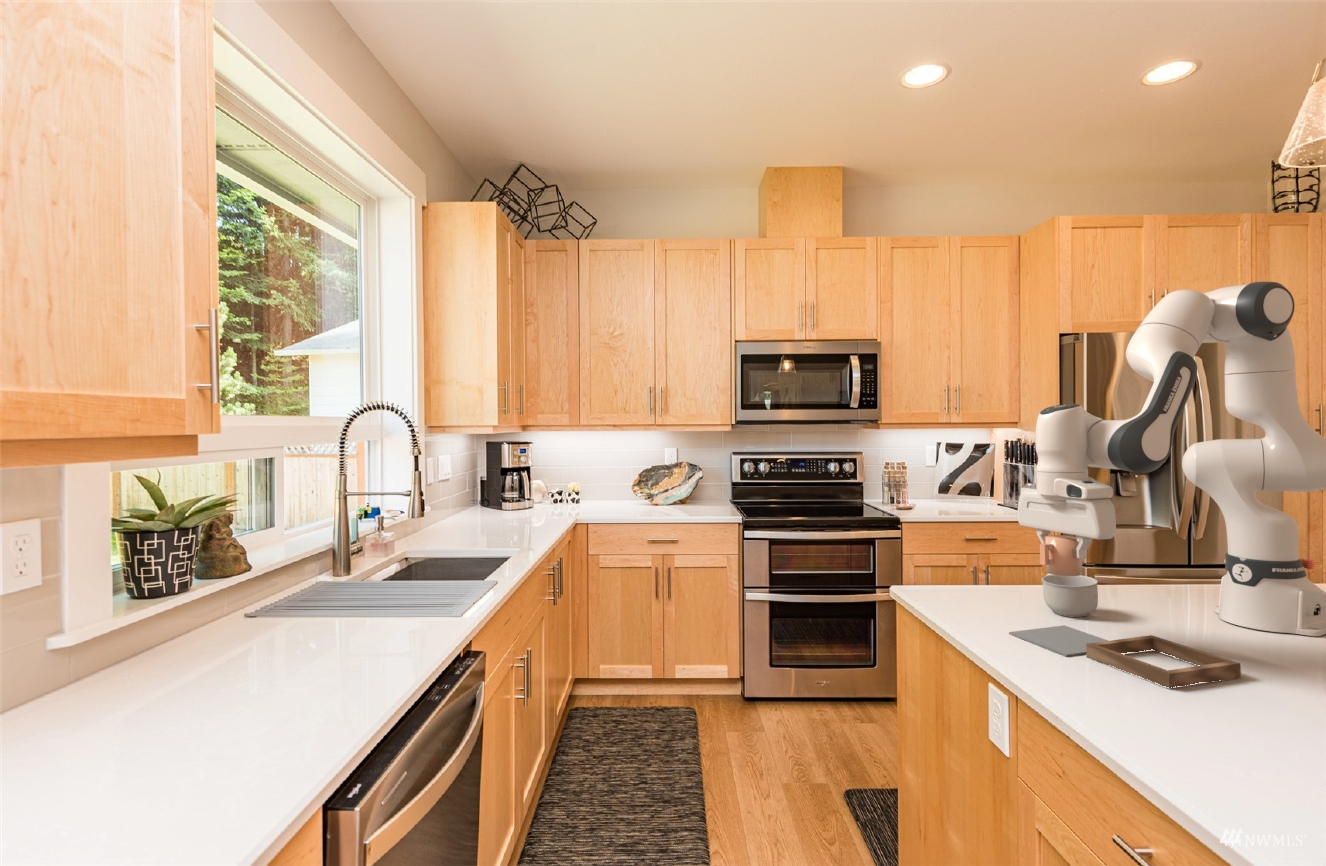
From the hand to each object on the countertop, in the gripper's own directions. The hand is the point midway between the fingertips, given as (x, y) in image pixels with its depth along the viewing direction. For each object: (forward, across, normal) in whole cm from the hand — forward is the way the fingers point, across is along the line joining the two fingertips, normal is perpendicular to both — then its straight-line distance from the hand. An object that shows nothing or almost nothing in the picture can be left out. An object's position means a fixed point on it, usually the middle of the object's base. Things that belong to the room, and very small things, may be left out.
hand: (1063, 555), depth 129 cm
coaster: (+17, 0, 0) cm, 17 cm away
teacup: (+17, -16, +17) cm, 29 cm away
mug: (+4, 0, 0) cm, 4 cm away
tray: (+17, +16, +4) cm, 24 cm away
